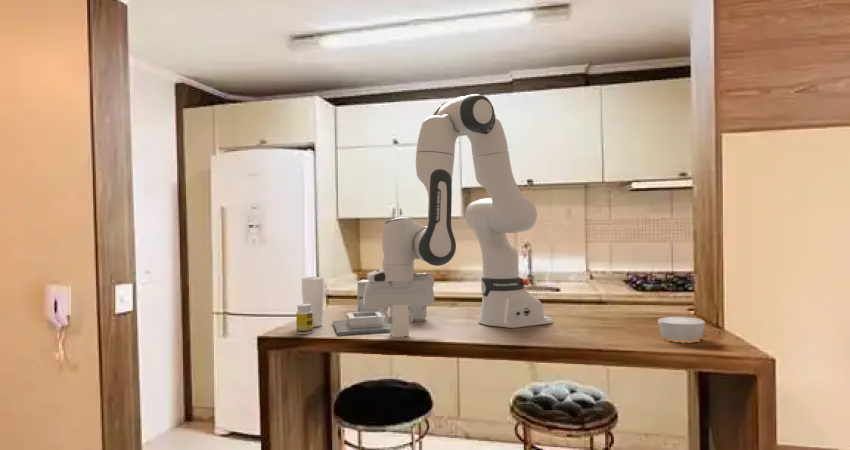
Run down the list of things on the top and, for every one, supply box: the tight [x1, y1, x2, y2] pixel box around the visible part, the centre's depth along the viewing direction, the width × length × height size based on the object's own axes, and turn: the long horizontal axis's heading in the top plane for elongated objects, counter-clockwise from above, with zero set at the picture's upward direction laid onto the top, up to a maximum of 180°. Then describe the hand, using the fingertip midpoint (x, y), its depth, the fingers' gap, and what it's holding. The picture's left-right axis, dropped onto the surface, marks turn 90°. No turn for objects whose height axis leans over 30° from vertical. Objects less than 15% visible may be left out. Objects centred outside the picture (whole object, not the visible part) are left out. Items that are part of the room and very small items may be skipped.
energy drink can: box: [408, 305, 427, 322], centre depth 183 cm, size 6×6×15 cm
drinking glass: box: [301, 276, 325, 328], centre depth 176 cm, size 7×7×15 cm
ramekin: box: [657, 316, 706, 340], centre depth 149 cm, size 11×11×5 cm
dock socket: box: [332, 311, 390, 336], centre depth 172 cm, size 18×18×4 cm
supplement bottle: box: [295, 303, 314, 335], centre depth 166 cm, size 5×5×8 cm
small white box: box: [389, 304, 410, 338], centre depth 160 cm, size 4×4×9 cm
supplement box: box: [356, 279, 384, 316], centre depth 188 cm, size 7×7×13 cm
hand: (399, 322), depth 160 cm, fingers closed on small white box, 4 cm apart
